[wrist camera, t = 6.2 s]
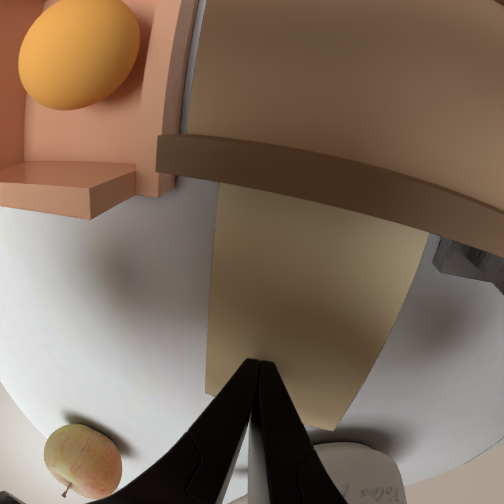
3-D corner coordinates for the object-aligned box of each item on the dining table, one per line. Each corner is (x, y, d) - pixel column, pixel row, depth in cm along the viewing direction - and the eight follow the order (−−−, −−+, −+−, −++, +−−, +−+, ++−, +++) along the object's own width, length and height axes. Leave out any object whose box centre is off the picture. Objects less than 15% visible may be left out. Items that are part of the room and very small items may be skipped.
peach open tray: (174, 186, 10) (116, 223, 6) (21, 175, 10) (-40, 200, 7) (210, -48, 6) (176, -105, 2) (43, -6, 6) (-12, -19, 3)
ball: (158, 107, 8) (35, 110, 4) (91, 110, 9) (0, 120, 6) (176, -6, 6) (69, -39, 3) (104, 20, 8) (17, 12, 4)
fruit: (107, 455, 22) (82, 510, 15) (54, 413, 20) (21, 469, 13) (149, 455, 20) (122, 525, 13) (85, 407, 18) (44, 481, 11)
